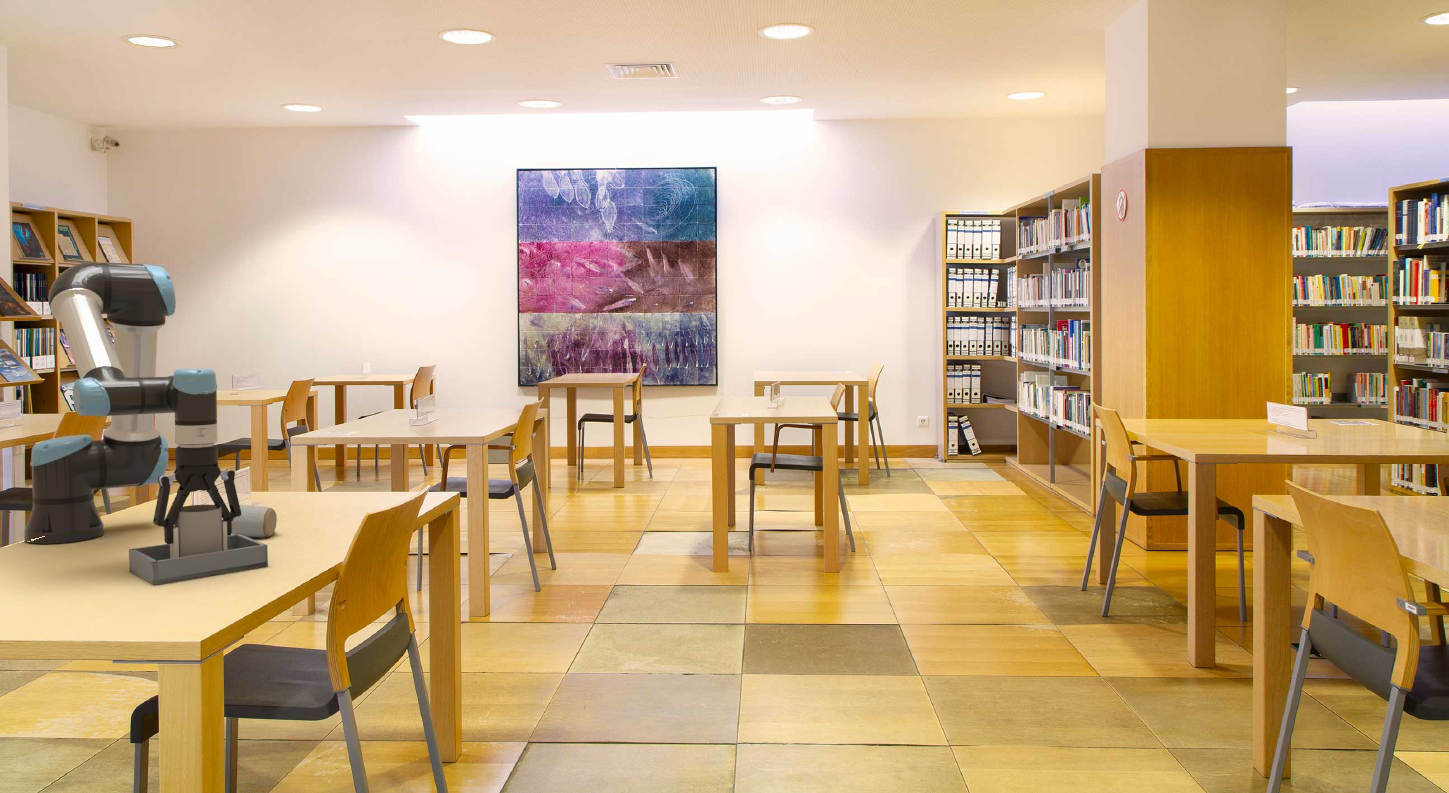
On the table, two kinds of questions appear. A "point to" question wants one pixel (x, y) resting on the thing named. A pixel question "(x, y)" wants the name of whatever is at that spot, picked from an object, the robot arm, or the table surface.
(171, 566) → the slate bin
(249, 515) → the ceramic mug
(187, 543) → the cup
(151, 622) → the table surface
